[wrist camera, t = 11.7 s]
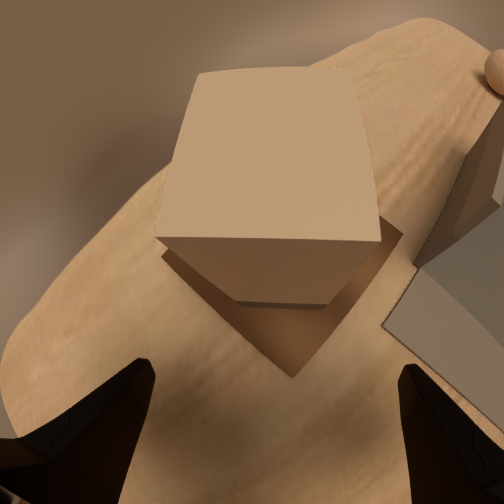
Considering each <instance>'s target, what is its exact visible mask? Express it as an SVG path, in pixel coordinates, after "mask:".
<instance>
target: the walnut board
mask: <svg viewBox="0 0 504 504" xmlns="http://www.w3.org/2000/svg"><path fill="white" fill-rule="evenodd" d="M379 222H380V232H381V242H380V244H379V245H378V246H377V248H376V249H375V250H374V251H373V252H372V254H371V255H370V256H369V257H368V259H367V260H366V261H365V262H364V263H363V265H362V266H361V267H360V268H359V269H358V271H357V272H356V273H355V274H354V275H353V277H352V278H351V279H350V280H349V281H348V282H347V284H346V285H345V286H344V287H343V288H342V289H341V290H340V291H339V293H338V294H337V295H336V296H335V297H334V298H333V299H332V300H331V302H330V303H329V304H328V305H327V306H326V307H325V308H324V309H323V310H310V309H280V308H258V307H242V306H241V305H239V304H238V303H237V302H236V301H234V300H233V299H232V298H230V297H229V296H228V295H226V294H225V293H224V292H223V291H221V290H220V289H219V288H217V287H216V286H215V285H214V284H212V283H211V282H210V281H208V280H207V279H206V278H205V277H203V276H202V275H201V274H200V273H198V272H197V271H196V270H195V269H193V268H192V267H191V266H190V265H188V264H187V263H186V262H185V261H184V260H182V259H181V258H180V257H179V256H177V255H176V254H175V253H174V252H173V251H171V250H170V249H169V248H168V250H167V251H166V252H165V253H164V254H163V255H162V256H161V257H162V258H163V259H164V260H165V261H166V262H167V263H168V264H169V265H170V266H171V268H172V269H173V270H174V271H175V272H176V273H177V274H178V275H179V276H180V277H181V278H182V279H183V280H184V281H185V282H186V283H187V284H189V285H190V286H191V287H192V288H193V289H194V290H195V291H196V292H197V293H198V294H199V295H200V296H201V297H202V298H203V299H204V300H205V301H206V302H207V303H208V304H209V305H210V306H211V307H212V308H213V309H214V310H216V311H217V312H218V313H219V314H220V315H221V316H222V317H223V318H224V319H225V320H226V321H227V322H228V323H230V324H231V325H232V326H233V327H234V328H235V329H236V330H237V331H238V332H239V333H241V334H242V335H243V336H244V337H245V338H246V339H247V340H248V341H249V342H251V343H252V344H253V345H254V346H255V347H256V348H257V349H259V350H260V351H261V352H262V353H263V354H264V355H265V356H267V357H268V358H269V359H270V360H271V361H272V362H274V363H275V364H276V365H277V366H278V367H279V368H281V369H282V370H283V371H284V372H285V373H287V374H288V375H289V376H290V377H291V378H293V377H294V376H295V375H296V374H297V373H298V372H299V371H300V370H301V369H302V368H303V366H304V365H305V364H306V363H307V362H308V361H309V360H310V359H311V357H312V356H313V355H314V354H315V353H316V352H317V350H318V349H319V348H320V347H321V346H322V345H323V343H324V342H325V341H326V340H327V339H328V337H329V336H330V335H331V334H332V332H333V331H334V330H335V329H336V328H337V326H338V325H339V324H340V323H341V321H342V320H343V319H344V317H345V316H346V315H347V314H348V312H349V311H350V310H351V308H352V307H353V306H354V304H355V303H356V302H357V300H358V299H359V298H360V296H361V295H362V294H363V292H364V291H365V290H366V288H367V287H368V286H369V284H370V283H371V281H372V280H373V279H374V277H375V276H376V274H377V273H378V271H379V270H380V268H381V267H382V266H383V264H384V263H385V261H386V260H387V258H388V257H389V255H390V254H391V252H392V251H393V249H394V248H395V246H396V244H397V243H398V241H399V240H400V238H401V237H402V235H403V233H401V232H400V231H399V230H398V229H396V228H395V227H394V226H393V225H391V224H390V223H389V222H387V221H386V220H385V219H383V218H382V217H381V216H380V215H379Z"/></svg>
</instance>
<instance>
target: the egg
mask: <svg viewBox="0 0 504 504" xmlns="http://www.w3.org/2000/svg"><path fill="white" fill-rule="evenodd" d="M484 71H485V76H486V79H487V82H488V84H489V85H490V87H491V88H492V89H493V90H494V91H495V92H497V93H498V94H500V95H504V49H500V50H497V51H495V52H493V53H491V54H490V55H489V57H488V58H487V60H486V62H485V66H484Z"/></svg>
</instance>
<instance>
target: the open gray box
mask: <svg viewBox="0 0 504 504" xmlns="http://www.w3.org/2000/svg"><path fill="white" fill-rule="evenodd" d="M413 265H415V266H416V267H417V268H418V271H417V273H416V274H415V276H414V278H413V279H412V281H411V283H410V284H409V286H408V287H407V289H406V291H405V292H404V294H403V295H402V297H401V298H400V300H399V301H398V303H397V304H396V306H395V307H394V309H393V310H392V312H391V313H390V315H389V316H388V318H387V319H386V320H385V322H384V323H383V325H382V327H383V328H384V329H385V330H386V331H388V332H389V333H390V334H391V335H392V336H394V337H395V338H396V339H397V340H398V341H400V342H401V343H402V344H403V345H404V346H405V347H407V348H408V349H409V350H410V351H411V352H413V353H414V354H415V355H416V356H417V357H418V358H420V359H421V360H422V361H423V362H424V363H425V364H427V365H428V366H429V367H430V368H431V369H432V370H434V371H435V372H436V373H437V374H438V375H439V376H441V377H442V378H443V379H444V380H445V381H446V382H447V383H449V384H450V385H451V386H452V387H453V388H454V389H455V390H457V391H458V392H459V393H460V394H461V395H462V396H463V397H465V398H466V399H467V400H468V401H469V402H470V403H471V404H472V405H474V406H475V407H476V408H477V409H478V410H479V411H480V412H481V413H482V414H484V415H485V416H486V417H487V418H488V419H489V420H490V421H491V422H492V423H493V424H495V425H496V426H497V427H498V428H499V429H500V430H501V431H502V432H503V433H504V99H503V100H502V102H501V104H500V106H499V107H498V109H497V110H496V112H495V114H494V115H493V117H492V118H491V120H490V122H489V123H488V125H487V126H486V128H485V129H484V131H483V132H482V134H481V135H480V137H479V138H478V140H477V141H476V143H475V144H474V146H473V147H472V148H471V150H470V151H469V153H468V154H467V156H466V158H465V161H464V163H463V166H462V168H461V171H460V173H459V175H458V178H457V180H456V182H455V184H454V187H453V189H452V191H451V193H450V195H449V197H448V199H447V202H446V204H445V206H444V208H443V210H442V212H441V214H440V216H439V218H438V220H437V222H436V223H435V225H434V227H433V229H432V231H431V233H430V235H429V237H428V238H427V240H426V242H425V244H424V245H423V247H422V249H421V251H420V252H419V254H418V256H417V258H416V259H415V261H414V263H413Z"/></svg>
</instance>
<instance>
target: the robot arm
mask: <svg viewBox="0 0 504 504" xmlns="http://www.w3.org/2000/svg"><path fill="white" fill-rule="evenodd" d="M154 382H155V372H154V370H153V367H152V365H151V363H150V361H149V360H148V359H144V358H137V359H136V360H134V361H133V362H132V363H130V364H129V365H128V366H126V367H125V368H124V369H122V370H121V371H119V372H118V373H117V374H115V375H114V376H113V377H111V378H110V379H109V380H107V381H106V382H105V383H103V384H102V385H101V386H99V387H98V388H97V389H95V390H94V391H92V392H91V393H90V394H88V395H87V396H86V397H84V398H83V399H82V400H80V401H79V402H78V403H76V404H75V405H73V406H72V407H71V408H69V409H68V410H66V411H65V412H64V413H62V414H61V415H59V416H58V417H56V418H55V419H53V420H52V421H50V422H48V423H47V424H45V425H43V426H41V427H40V428H38V429H36V430H34V431H33V432H31V433H29V434H27V435H25V436H23V437H20V438H15V439H6V438H0V504H118V502H119V497H120V494H121V491H122V488H123V485H124V481H125V478H126V475H127V472H128V469H129V466H130V463H131V460H132V457H133V454H134V450H135V447H136V445H137V442H138V439H139V436H140V433H141V430H142V427H143V424H144V421H145V418H146V415H147V412H148V408H149V404H150V400H151V395H152V391H153V387H154ZM398 392H399V402H400V416H401V424H402V430H403V436H404V442H405V449H406V455H407V462H408V470H409V478H410V488H411V499H412V504H504V450H503V449H501V448H500V447H499V446H498V445H497V444H496V443H494V442H493V441H492V440H491V439H490V438H489V437H488V436H487V435H486V434H485V433H484V432H483V431H482V430H481V429H480V428H479V427H478V426H477V425H476V424H475V423H474V422H473V421H472V420H471V418H470V417H469V416H468V415H467V414H466V413H465V412H464V411H463V410H462V409H461V408H460V407H459V406H458V405H457V404H456V403H455V402H454V401H453V400H452V399H451V398H450V397H449V396H448V395H447V394H446V393H445V392H444V391H443V390H442V389H441V388H440V387H439V386H438V385H437V384H436V383H435V382H434V381H433V380H432V379H431V378H430V377H429V376H428V375H427V374H426V373H425V372H424V371H423V370H422V369H421V368H420V367H419V366H418V365H417V364H407V365H405V366H404V368H403V370H402V372H401V375H400V377H399V379H398Z"/></svg>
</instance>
